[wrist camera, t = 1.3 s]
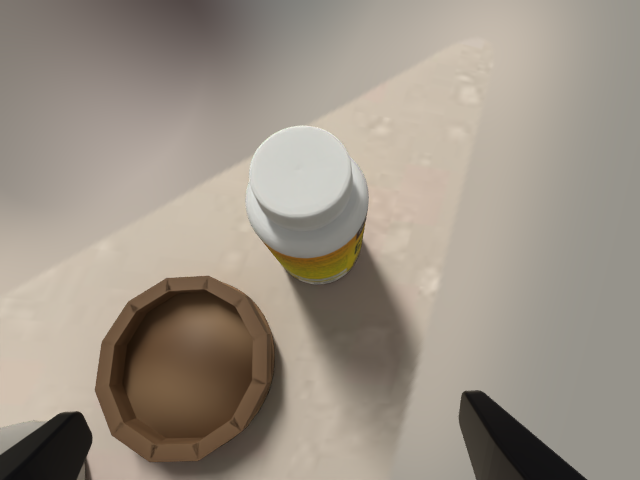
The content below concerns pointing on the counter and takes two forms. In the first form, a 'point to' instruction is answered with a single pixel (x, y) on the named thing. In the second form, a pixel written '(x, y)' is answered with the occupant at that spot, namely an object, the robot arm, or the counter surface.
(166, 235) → the counter surface
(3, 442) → the cup
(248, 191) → the supplement bottle
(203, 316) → the walnut tray
